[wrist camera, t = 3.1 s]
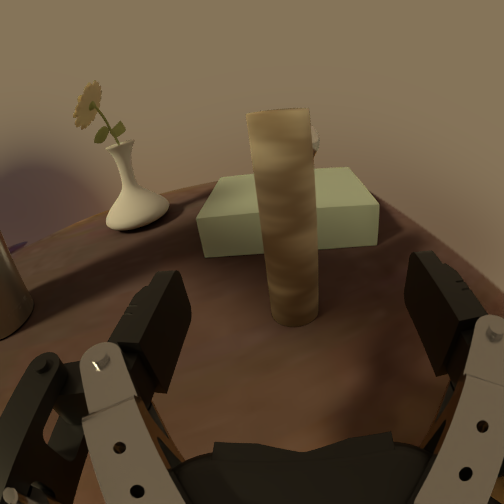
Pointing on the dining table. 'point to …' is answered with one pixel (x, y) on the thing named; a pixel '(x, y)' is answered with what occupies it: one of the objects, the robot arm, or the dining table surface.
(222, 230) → the hole block
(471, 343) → the robot arm
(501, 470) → the watch
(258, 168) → the peg
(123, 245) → the dining table surface
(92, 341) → the dining table surface
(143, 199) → the flower in vase
